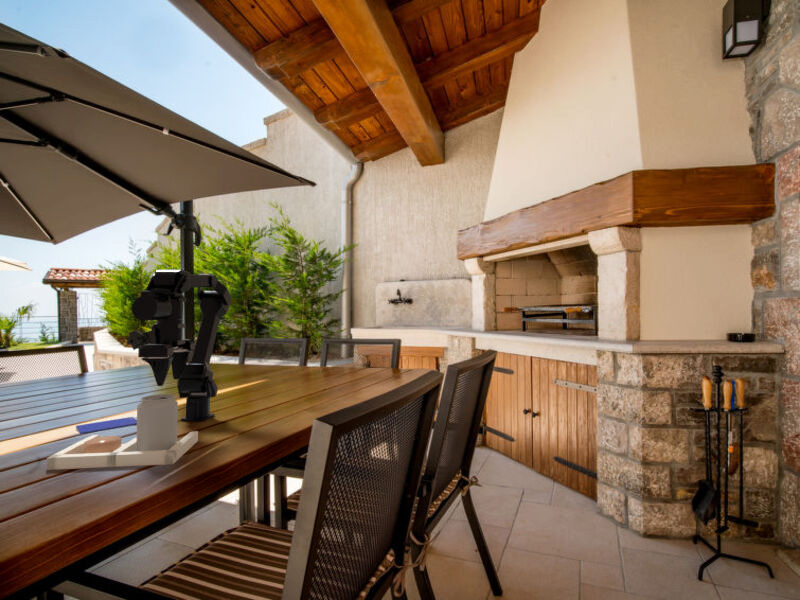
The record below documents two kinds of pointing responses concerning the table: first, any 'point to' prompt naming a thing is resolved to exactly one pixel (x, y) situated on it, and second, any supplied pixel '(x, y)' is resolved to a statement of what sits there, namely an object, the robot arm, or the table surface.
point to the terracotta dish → (102, 444)
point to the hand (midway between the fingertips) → (168, 382)
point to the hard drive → (106, 425)
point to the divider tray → (118, 455)
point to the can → (157, 423)
